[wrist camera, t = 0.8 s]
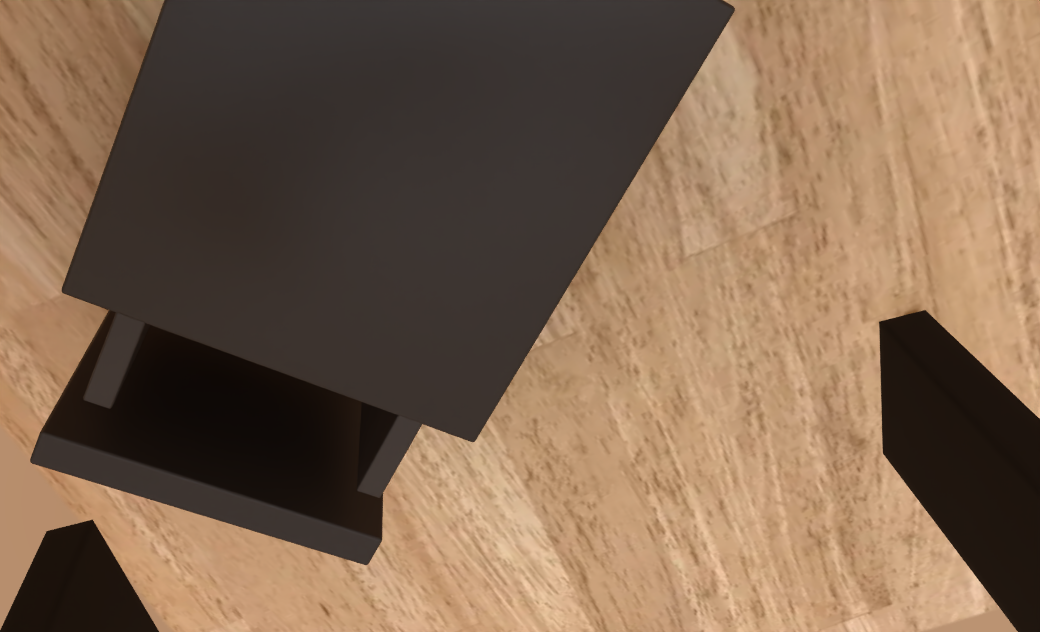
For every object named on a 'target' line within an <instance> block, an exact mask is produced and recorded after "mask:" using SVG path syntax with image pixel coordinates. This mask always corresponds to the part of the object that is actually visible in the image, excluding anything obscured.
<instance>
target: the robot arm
mask: <svg viewBox="0 0 1040 632" xmlns="http://www.w3.org/2000/svg"><path fill="white" fill-rule="evenodd" d="M879 327H880V364H881V401H882V438H883V454H884V455H885V457H886V458H887V459H888V461H889V462H890V463H891V465H892V466H893V467H894V468H895V470H896V471H897V472H898V474H899V475H900V476H901V478H902V479H903V480H904V482H905V483H906V484H907V486H908V487H909V488H910V490H911V491H912V492H913V494H914V495H915V496H916V498H917V499H918V500H919V502H920V503H921V504H922V506H923V507H924V508H925V509H926V511H927V512H928V513H929V515H930V516H931V517H932V519H933V520H934V521H935V523H936V524H937V525H938V527H939V528H940V529H941V531H942V532H943V533H944V535H945V536H946V537H947V539H948V540H949V541H950V543H951V544H952V545H953V547H954V548H955V549H956V550H957V552H958V553H959V554H960V556H961V557H962V558H963V560H964V561H965V562H966V564H967V565H968V566H969V568H970V569H971V570H972V572H973V573H974V574H975V576H976V577H977V578H978V580H979V581H980V582H981V584H982V585H983V586H984V588H985V589H986V590H987V591H988V593H989V594H990V595H991V597H992V598H993V599H994V601H995V602H996V603H997V605H998V606H999V607H1000V609H1001V610H1002V611H1003V613H1004V614H1005V615H1006V617H1007V618H1008V619H1009V621H1010V622H1011V623H1012V624H1013V626H1014V627H1015V628H1016V630H1017V631H1018V632H1040V419H1039V418H1038V417H1037V416H1036V415H1035V414H1034V413H1033V412H1032V411H1031V410H1030V409H1029V408H1027V407H1026V406H1025V405H1024V404H1023V403H1022V402H1021V401H1020V400H1019V399H1018V398H1017V397H1016V396H1015V395H1014V394H1013V393H1012V392H1011V391H1010V390H1009V389H1008V388H1006V387H1005V386H1004V385H1003V384H1002V383H1001V382H1000V381H999V380H998V379H997V378H996V377H995V376H994V375H993V374H992V373H991V372H990V371H989V370H988V369H986V368H985V367H984V366H983V365H982V364H981V363H980V362H979V361H978V360H977V359H976V358H975V357H974V356H973V355H972V354H971V353H970V352H969V351H968V350H967V349H965V348H964V347H963V346H962V345H961V344H960V343H959V342H958V341H957V340H956V339H955V338H954V337H953V336H952V335H951V334H950V333H949V332H948V331H947V330H946V329H944V328H943V327H942V326H941V325H940V324H939V323H938V322H937V321H936V320H935V319H934V318H933V317H932V316H931V315H930V314H929V313H928V312H927V311H926V310H924V311H920V312H916V313H912V314H908V315H904V316H900V317H896V318H892V319H888V320H884V321H880V322H879ZM0 632H159V631H158V630H157V627H156V626H155V624H154V622H153V621H152V619H151V618H150V616H149V614H148V612H147V611H146V609H145V607H144V606H143V604H142V602H141V600H140V599H139V597H138V595H137V594H136V592H135V590H134V589H133V587H132V585H131V584H130V582H129V580H128V579H127V577H126V575H125V574H124V572H123V570H122V568H121V567H120V565H119V563H118V562H117V560H116V558H115V557H114V555H113V553H112V552H111V550H110V548H109V547H108V545H107V543H106V541H105V540H104V538H103V536H102V535H101V533H100V531H99V530H98V528H97V526H96V525H95V523H94V521H93V520H90V521H86V522H82V523H78V524H74V525H70V526H66V527H62V528H58V529H54V530H50V531H47V532H46V534H45V536H44V538H43V540H42V542H41V545H40V547H39V549H38V551H37V553H36V555H35V557H34V559H33V562H32V564H31V566H30V568H29V570H28V572H27V574H26V577H25V579H24V581H23V583H22V585H21V587H20V589H19V591H18V594H17V596H16V598H15V600H14V602H13V604H12V606H11V609H10V611H9V613H8V615H7V617H6V620H5V621H4V624H3V626H2V628H1V630H0Z"/></svg>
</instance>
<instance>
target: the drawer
mask: <svg viewBox="0 0 1040 632" xmlns="http://www.w3.org/2000/svg"><path fill="white" fill-rule="evenodd" d="M421 425H422V424H421V423H418V422H416V421H413V420H410V419H407V418H405V417H402V416H399V415H396V414H394V413H391V412H388V411H385V410H383V409H380V408H377V407H374V406H372V405H369V404H366V403H363V402H361V401H358V400H355V399H352V398H350V397H347V396H344V395H341V394H339V393H336V392H333V391H330V390H328V389H325V388H322V387H319V386H317V385H314V384H311V383H308V382H306V381H303V380H300V379H298V378H295V377H292V376H289V375H287V374H284V373H281V372H278V371H276V370H273V369H270V368H267V367H265V366H262V365H259V364H256V363H254V362H251V361H248V360H245V359H243V358H240V357H237V356H234V355H232V354H229V353H226V352H223V351H221V350H218V349H215V348H212V347H210V346H207V345H204V344H201V343H199V342H196V341H193V340H190V339H188V338H185V337H182V336H179V335H177V334H174V333H171V332H168V331H166V330H163V329H160V328H157V327H155V326H152V325H149V324H146V323H144V322H141V321H138V320H135V319H133V318H130V317H127V316H124V315H122V314H119V313H116V312H113V311H111V310H109V311H108V313H107V315H106V317H105V319H104V320H103V322H102V324H101V326H100V327H99V329H98V331H97V333H96V334H95V336H94V338H93V340H92V342H91V343H90V345H89V347H88V349H87V350H86V352H85V354H84V356H83V358H82V359H81V361H80V363H79V365H78V366H77V368H76V370H75V372H74V373H73V375H72V377H71V379H70V381H69V382H68V384H67V386H66V388H65V389H64V391H63V393H62V395H61V397H60V398H59V400H58V402H57V404H56V405H55V407H54V409H53V411H52V413H51V414H50V416H49V418H48V420H47V421H46V423H45V425H44V427H43V428H42V430H41V432H40V434H39V437H38V440H37V443H36V445H35V448H34V451H33V453H32V456H31V459H30V461H31V463H32V464H36V465H39V466H42V467H46V468H49V469H52V470H55V471H59V472H62V473H65V474H68V475H72V476H75V477H78V478H82V479H85V480H88V481H91V482H95V483H98V484H101V485H105V486H108V487H111V488H114V489H118V490H121V491H124V492H128V493H131V494H134V495H137V496H141V497H144V498H147V499H150V500H154V501H157V502H160V503H164V504H167V505H170V506H173V507H177V508H180V509H183V510H187V511H190V512H193V513H196V514H200V515H203V516H206V517H210V518H213V519H216V520H219V521H223V522H226V523H229V524H232V525H236V526H239V527H242V528H246V529H249V530H252V531H255V532H259V533H262V534H265V535H269V536H272V537H275V538H278V539H282V540H285V541H288V542H292V543H295V544H298V545H301V546H305V547H308V548H311V549H314V550H318V551H321V552H324V553H328V554H331V555H334V556H337V557H341V558H344V559H347V560H351V561H354V562H357V563H360V564H364V565H368V564H369V562H370V560H371V559H372V557H373V555H374V553H375V552H376V550H377V548H378V547H379V545H380V543H381V541H382V517H383V492H384V490H385V488H386V487H387V485H388V483H389V481H390V480H391V478H392V476H393V474H394V473H395V471H396V469H397V467H398V466H399V464H400V462H401V460H402V459H403V457H404V455H405V453H406V452H407V450H408V448H409V446H410V445H411V443H412V441H413V439H414V438H415V436H416V434H417V432H418V431H419V429H420V427H421Z"/></svg>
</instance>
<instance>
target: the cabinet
mask: <svg viewBox="0 0 1040 632" xmlns="http://www.w3.org/2000/svg"><path fill="white" fill-rule="evenodd" d="M734 11H735V8H734V7H733V6H732V5H730V4H728V3H727V2H725V1H723V0H164V3H163V6H162V9H161V12H160V14H159V17H158V20H157V23H156V26H155V28H154V31H153V34H152V37H151V40H150V43H149V45H148V48H147V51H146V54H145V57H144V59H143V62H142V65H141V68H140V71H139V73H138V76H137V79H136V82H135V85H134V87H133V90H132V93H131V96H130V99H129V101H128V104H127V107H126V110H125V113H124V115H123V118H122V121H121V124H120V127H119V129H118V132H117V135H116V138H115V141H114V144H113V146H112V149H111V152H110V155H109V158H108V160H107V163H106V166H105V169H104V172H103V174H102V177H101V180H100V183H99V186H98V188H97V191H96V194H95V197H94V200H93V202H92V205H91V208H90V211H89V214H88V216H87V219H86V222H85V225H84V228H83V230H82V233H81V236H80V239H79V242H78V245H77V247H76V250H75V253H74V256H73V259H72V261H71V264H70V267H69V270H68V273H67V275H66V278H65V281H64V284H63V287H62V293H64V294H67V295H69V296H72V297H75V298H78V299H80V300H83V301H86V302H89V303H91V304H94V305H97V306H100V307H102V308H105V309H108V310H111V311H113V312H116V313H119V314H122V315H124V316H127V317H130V318H133V319H135V320H138V321H141V322H144V323H146V324H149V325H152V326H155V327H157V328H160V329H163V330H166V331H168V332H171V333H174V334H177V335H179V336H182V337H185V338H188V339H190V340H193V341H196V342H199V343H201V344H204V345H207V346H210V347H212V348H215V349H218V350H221V351H223V352H226V353H229V354H232V355H234V356H237V357H240V358H243V359H245V360H248V361H251V362H254V363H256V364H259V365H262V366H265V367H267V368H270V369H273V370H276V371H278V372H281V373H284V374H287V375H289V376H292V377H295V378H298V379H300V380H303V381H306V382H308V383H311V384H314V385H317V386H319V387H322V388H325V389H328V390H330V391H333V392H336V393H339V394H341V395H344V396H347V397H350V398H352V399H355V400H358V401H361V402H363V403H366V404H369V405H372V406H374V407H377V408H380V409H383V410H385V411H388V412H391V413H394V414H396V415H399V416H402V417H405V418H407V419H410V420H413V421H416V422H418V423H421V424H424V425H427V426H429V427H432V428H435V429H438V430H440V431H443V432H446V433H449V434H451V435H454V436H457V437H460V438H462V439H465V440H468V441H471V442H475V440H476V439H477V437H478V435H479V434H480V432H481V431H482V429H483V427H484V426H485V424H486V422H487V421H488V419H489V417H490V416H491V414H492V412H493V411H494V409H495V407H496V406H497V404H498V402H499V401H500V399H501V397H502V396H503V394H504V392H505V391H506V389H507V387H508V386H509V384H510V382H511V381H512V379H513V377H514V376H515V374H516V372H517V371H518V369H519V368H520V366H521V364H522V363H523V361H524V359H525V358H526V356H527V354H528V353H529V351H530V349H531V348H532V346H533V344H534V343H535V341H536V339H537V338H538V336H539V334H540V333H541V331H542V329H543V328H544V326H545V324H546V323H547V321H548V319H549V318H550V316H551V314H552V313H553V311H554V309H555V308H556V306H557V305H558V303H559V301H560V300H561V298H562V296H563V295H564V293H565V291H566V290H567V288H568V286H569V285H570V283H571V281H572V280H573V278H574V276H575V275H576V273H577V271H578V270H579V268H580V266H581V265H582V263H583V261H584V260H585V258H586V256H587V255H588V253H589V251H590V250H591V248H592V246H593V245H594V243H595V242H596V240H597V238H598V237H599V235H600V233H601V232H602V230H603V228H604V227H605V225H606V223H607V222H608V220H609V218H610V217H611V215H612V213H613V212H614V210H615V208H616V207H617V205H618V203H619V202H620V200H621V198H622V197H623V195H624V193H625V192H626V190H627V188H628V187H629V185H630V184H631V182H632V180H633V179H634V177H635V175H636V174H637V172H638V170H639V169H640V167H641V165H642V164H643V162H644V160H645V159H646V157H647V155H648V154H649V152H650V150H651V149H652V147H653V145H654V144H655V142H656V140H657V139H658V137H659V135H660V134H661V132H662V130H663V129H664V127H665V125H666V124H667V122H668V121H669V119H670V117H671V116H672V114H673V112H674V111H675V109H676V107H677V106H678V104H679V102H680V101H681V99H682V97H683V96H684V94H685V92H686V91H687V89H688V87H689V86H690V84H691V82H692V81H693V79H694V77H695V76H696V74H697V72H698V71H699V69H700V67H701V66H702V64H703V62H704V61H705V59H706V58H707V56H708V54H709V53H710V51H711V49H712V48H713V46H714V44H715V43H716V41H717V39H718V38H719V36H720V34H721V33H722V31H723V29H724V28H725V26H726V24H727V23H728V21H729V19H730V18H731V16H732V14H733V13H734Z"/></svg>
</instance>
